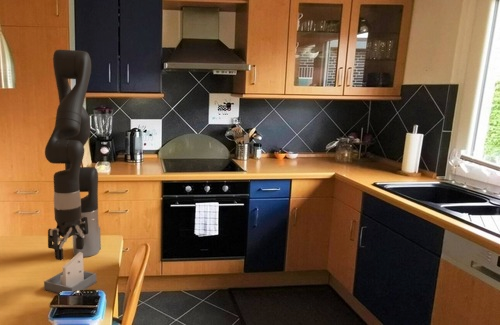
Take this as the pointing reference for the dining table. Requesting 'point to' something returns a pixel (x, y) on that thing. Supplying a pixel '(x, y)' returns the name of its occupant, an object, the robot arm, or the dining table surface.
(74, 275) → the white angled block
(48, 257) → the dining table surface
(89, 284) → the gray square tray
